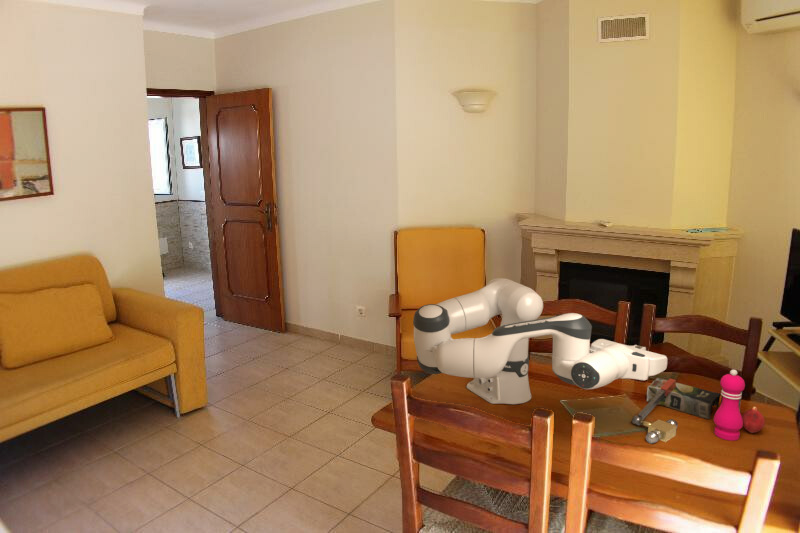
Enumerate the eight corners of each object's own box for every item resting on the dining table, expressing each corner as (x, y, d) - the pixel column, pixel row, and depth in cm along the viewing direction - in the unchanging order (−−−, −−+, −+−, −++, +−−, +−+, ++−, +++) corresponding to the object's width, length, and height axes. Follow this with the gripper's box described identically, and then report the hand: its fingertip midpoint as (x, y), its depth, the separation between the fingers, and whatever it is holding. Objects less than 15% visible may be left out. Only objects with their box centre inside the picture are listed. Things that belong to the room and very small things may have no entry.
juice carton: (642, 401, 186) (644, 383, 184) (654, 391, 192) (655, 374, 191) (709, 421, 172) (711, 402, 171) (719, 410, 179) (721, 392, 177)
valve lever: (631, 418, 169) (669, 378, 181) (632, 424, 169) (670, 384, 182) (638, 420, 167) (675, 380, 180) (638, 427, 168) (676, 386, 180)
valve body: (628, 435, 164) (629, 425, 163) (652, 420, 173) (653, 411, 172) (658, 447, 157) (659, 437, 157) (682, 431, 166) (683, 421, 165)
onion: (763, 439, 161) (766, 413, 159) (739, 434, 164) (742, 408, 162) (763, 431, 165) (766, 405, 164) (740, 426, 168) (743, 401, 167)
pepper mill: (745, 442, 159) (753, 375, 155) (717, 440, 160) (724, 373, 156) (735, 430, 166) (743, 365, 162) (708, 428, 167) (715, 364, 163)
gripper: (581, 361, 162) (606, 349, 171) (651, 382, 147) (675, 369, 156) (582, 340, 161) (608, 329, 170) (653, 359, 146) (677, 347, 155)
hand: (640, 348), depth 163 cm, fingers closed
